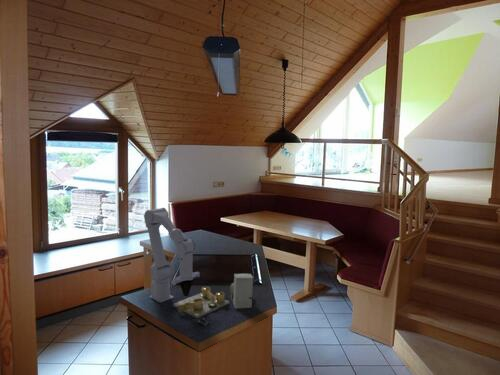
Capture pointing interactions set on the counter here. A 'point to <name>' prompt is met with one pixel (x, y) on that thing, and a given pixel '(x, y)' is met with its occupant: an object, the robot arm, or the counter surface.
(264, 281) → the counter surface
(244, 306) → the skincare box
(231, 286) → the ceramic mug
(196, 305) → the knob
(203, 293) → the knob
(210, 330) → the counter surface
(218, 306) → the levelling plate
